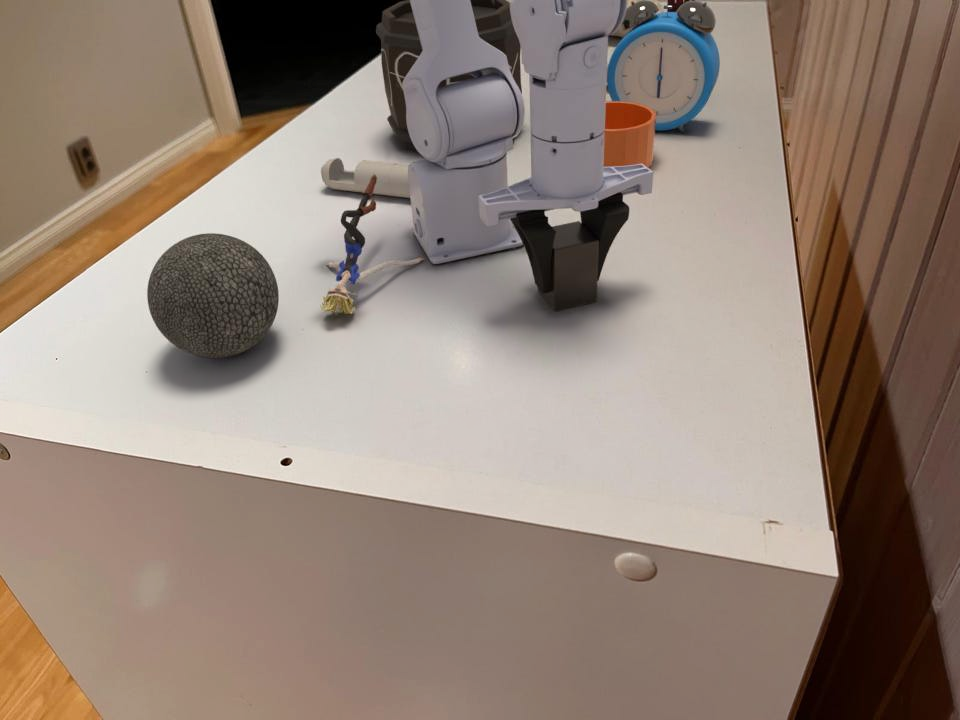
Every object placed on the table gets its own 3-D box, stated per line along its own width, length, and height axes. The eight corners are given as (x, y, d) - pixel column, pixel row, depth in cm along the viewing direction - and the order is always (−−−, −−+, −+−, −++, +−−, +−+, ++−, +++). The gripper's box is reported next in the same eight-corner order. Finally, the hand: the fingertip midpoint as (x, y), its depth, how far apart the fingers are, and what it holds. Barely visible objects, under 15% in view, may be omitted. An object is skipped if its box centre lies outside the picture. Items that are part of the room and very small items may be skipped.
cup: (589, 183, 88) (590, 136, 84) (554, 153, 95) (554, 109, 92) (668, 168, 90) (672, 121, 87) (628, 140, 98) (630, 96, 94)
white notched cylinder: (315, 195, 90) (304, 140, 86) (336, 179, 93) (326, 125, 89) (459, 212, 84) (454, 153, 80) (475, 194, 87) (471, 137, 83)
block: (554, 311, 67) (554, 249, 63) (537, 289, 70) (536, 229, 66) (597, 301, 68) (599, 240, 64) (578, 280, 71) (579, 220, 67)
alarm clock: (604, 129, 101) (608, 5, 92) (615, 113, 106) (620, -6, 97) (706, 136, 97) (721, 8, 88) (714, 120, 101) (728, -4, 93)
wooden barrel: (380, 164, 96) (361, 30, 87) (397, 115, 111) (382, -4, 101) (525, 157, 95) (521, 21, 86) (523, 109, 109) (520, -13, 100)
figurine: (308, 383, 72) (372, 234, 83) (384, 372, 67) (440, 216, 79) (235, 311, 65) (316, 159, 77) (314, 294, 61) (386, 136, 72)
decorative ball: (253, 390, 60) (220, 278, 54) (143, 375, 63) (101, 266, 57) (309, 320, 68) (286, 216, 62) (210, 309, 70) (178, 208, 65)
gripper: (496, 164, 55) (504, 323, 63) (677, 130, 58) (663, 285, 66) (466, 132, 61) (477, 283, 69) (633, 103, 64) (625, 250, 72)
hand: (566, 282), depth 68 cm, fingers closed on block, 4 cm apart
